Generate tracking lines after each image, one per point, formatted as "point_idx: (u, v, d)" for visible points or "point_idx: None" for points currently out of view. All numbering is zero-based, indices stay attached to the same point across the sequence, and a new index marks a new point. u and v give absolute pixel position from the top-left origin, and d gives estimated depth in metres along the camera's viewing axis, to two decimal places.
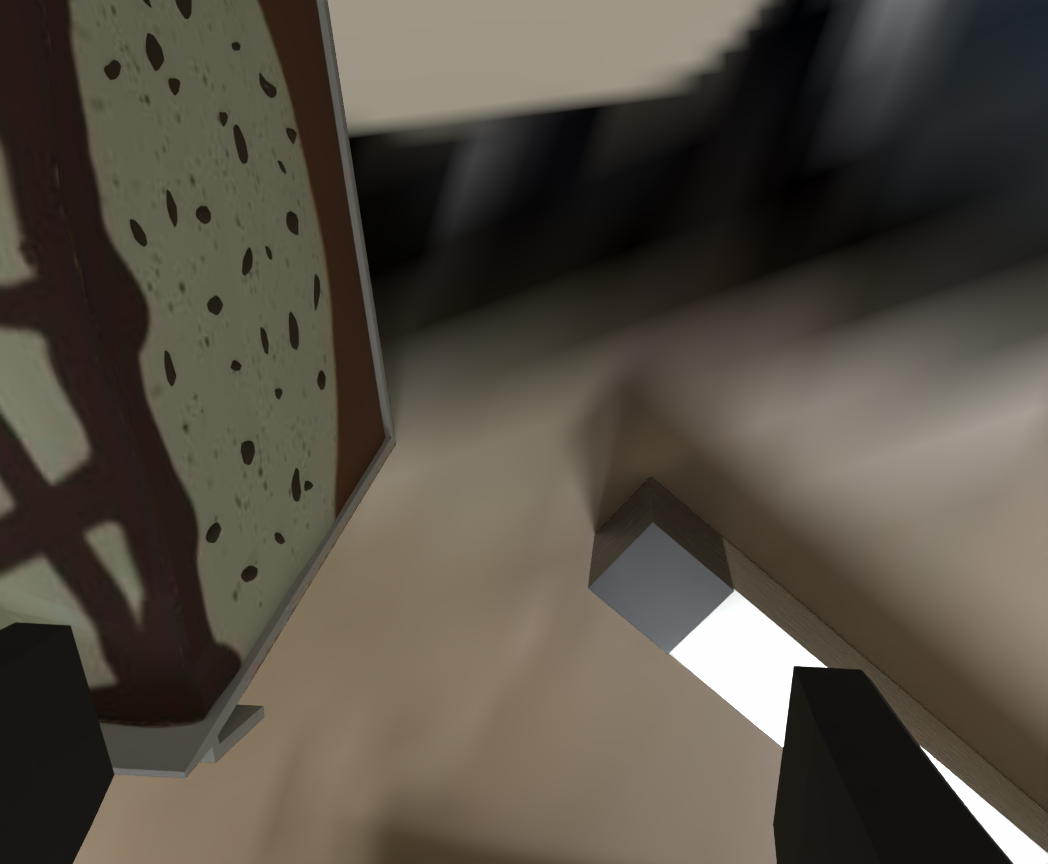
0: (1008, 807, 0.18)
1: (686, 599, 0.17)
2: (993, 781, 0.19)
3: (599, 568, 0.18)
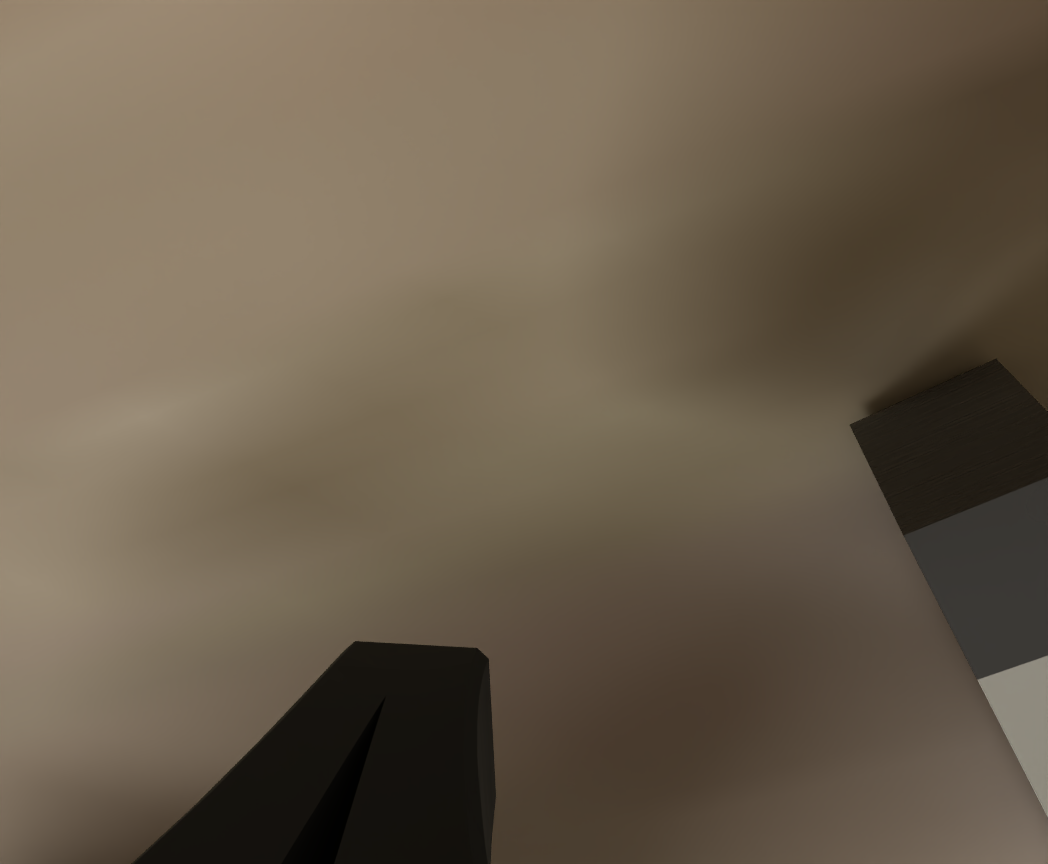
0: None
1: None
2: None
3: None
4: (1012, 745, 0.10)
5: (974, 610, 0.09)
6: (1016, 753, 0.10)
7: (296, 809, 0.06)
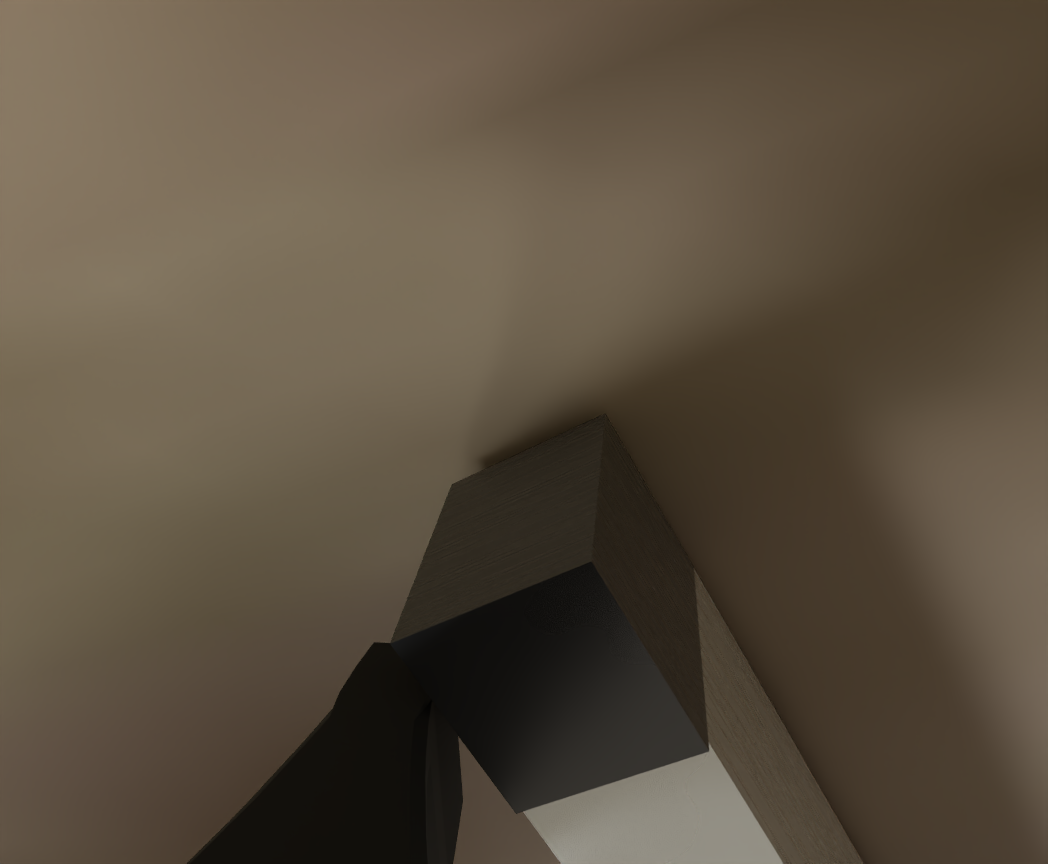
0: None
1: None
2: None
3: None
4: None
5: (493, 734, 0.08)
6: None
7: (345, 813, 0.06)
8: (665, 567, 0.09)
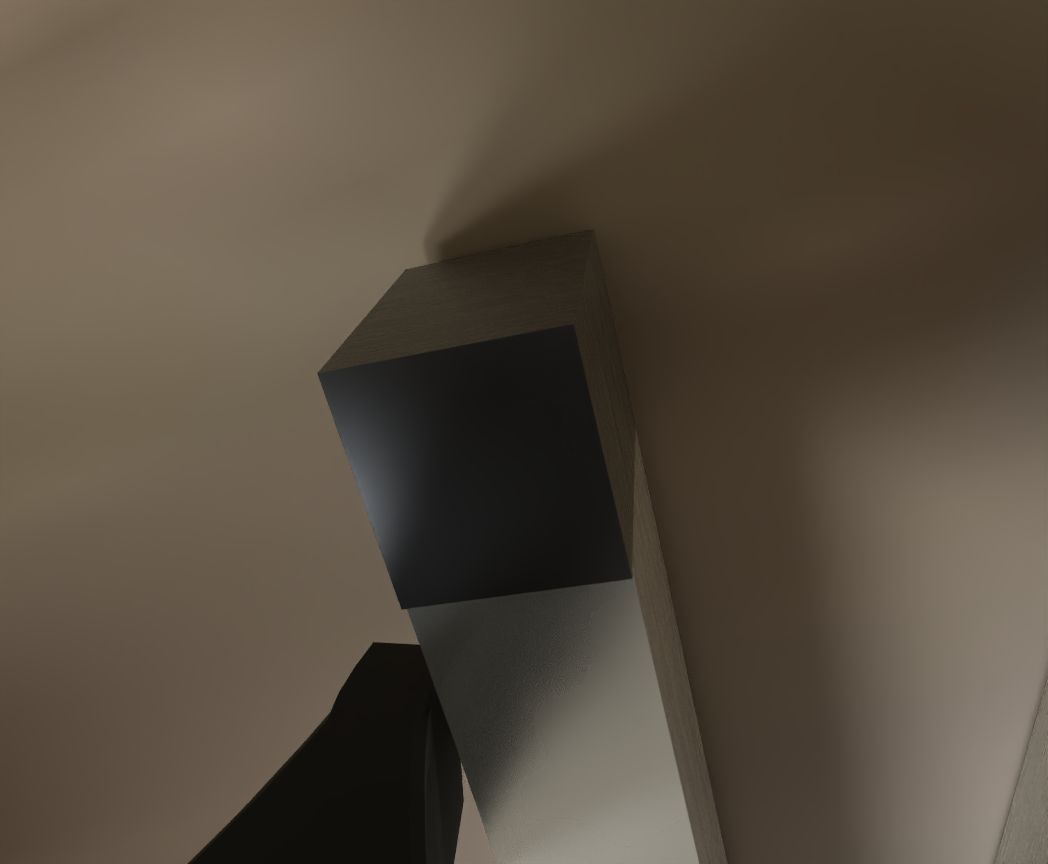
0: None
1: None
2: None
3: None
4: None
5: (403, 508, 0.07)
6: (450, 723, 0.08)
7: (346, 813, 0.06)
8: (618, 400, 0.08)
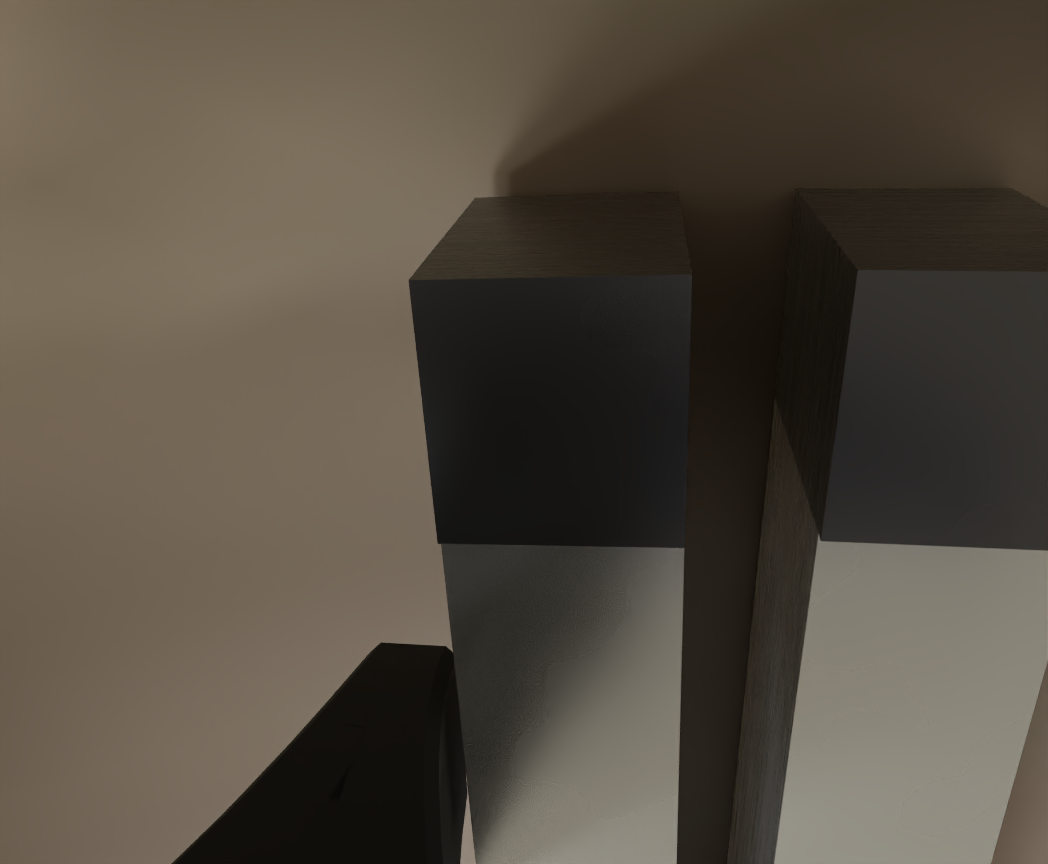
0: None
1: (992, 483, 0.06)
2: None
3: (893, 253, 0.06)
4: (454, 655, 0.07)
5: (464, 439, 0.06)
6: (457, 669, 0.07)
7: (331, 812, 0.06)
8: None
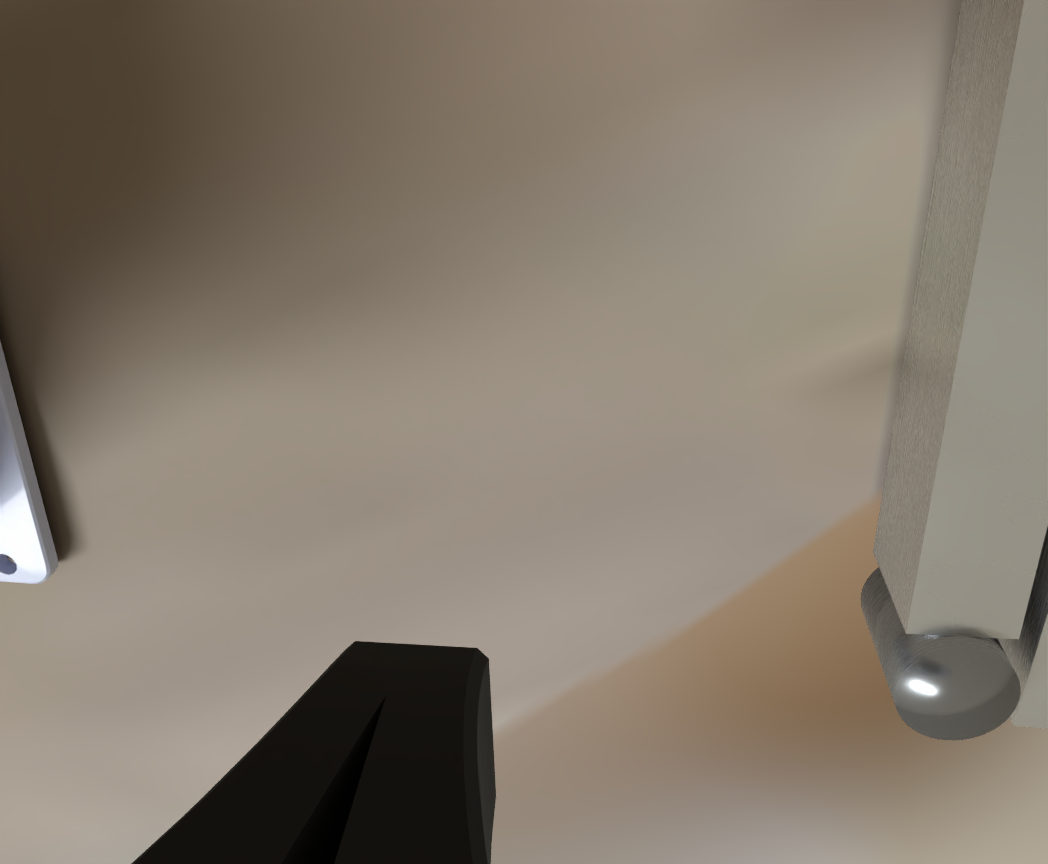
0: None
1: None
2: None
3: None
4: None
5: None
6: None
7: (296, 809, 0.06)
8: None
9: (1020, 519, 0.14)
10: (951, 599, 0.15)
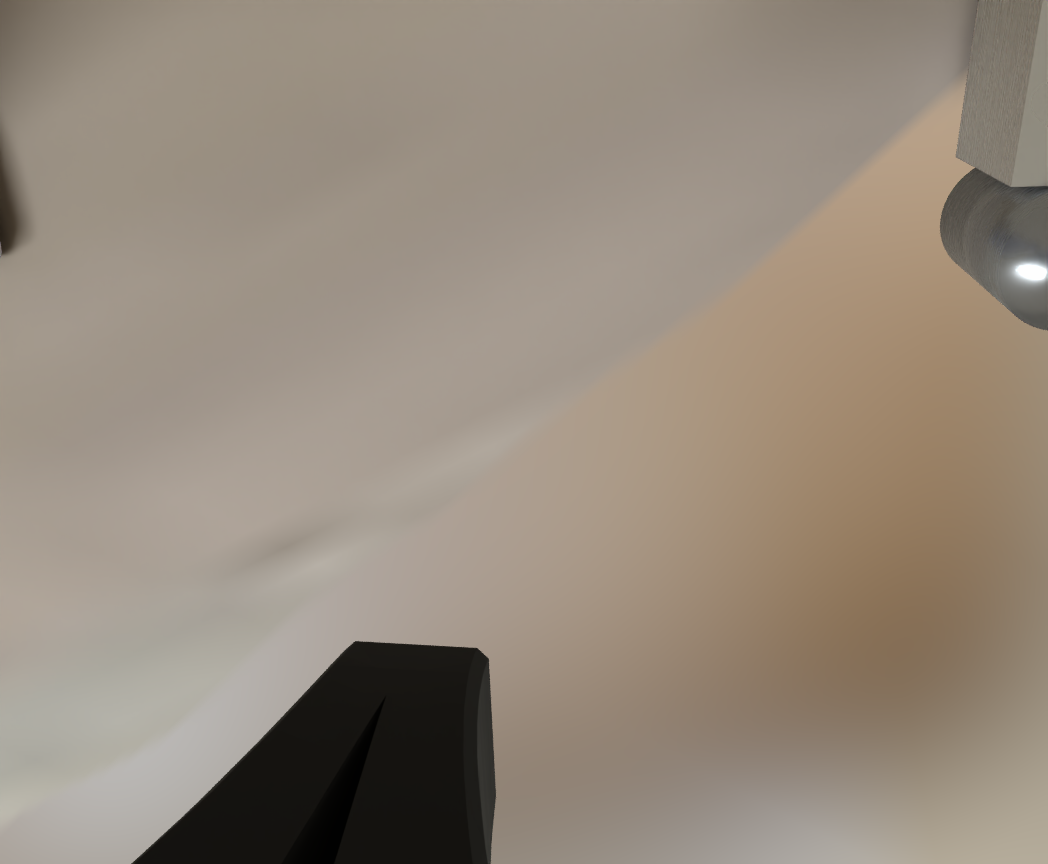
0: None
1: None
2: None
3: None
4: None
5: None
6: None
7: (296, 809, 0.06)
8: None
9: None
10: None
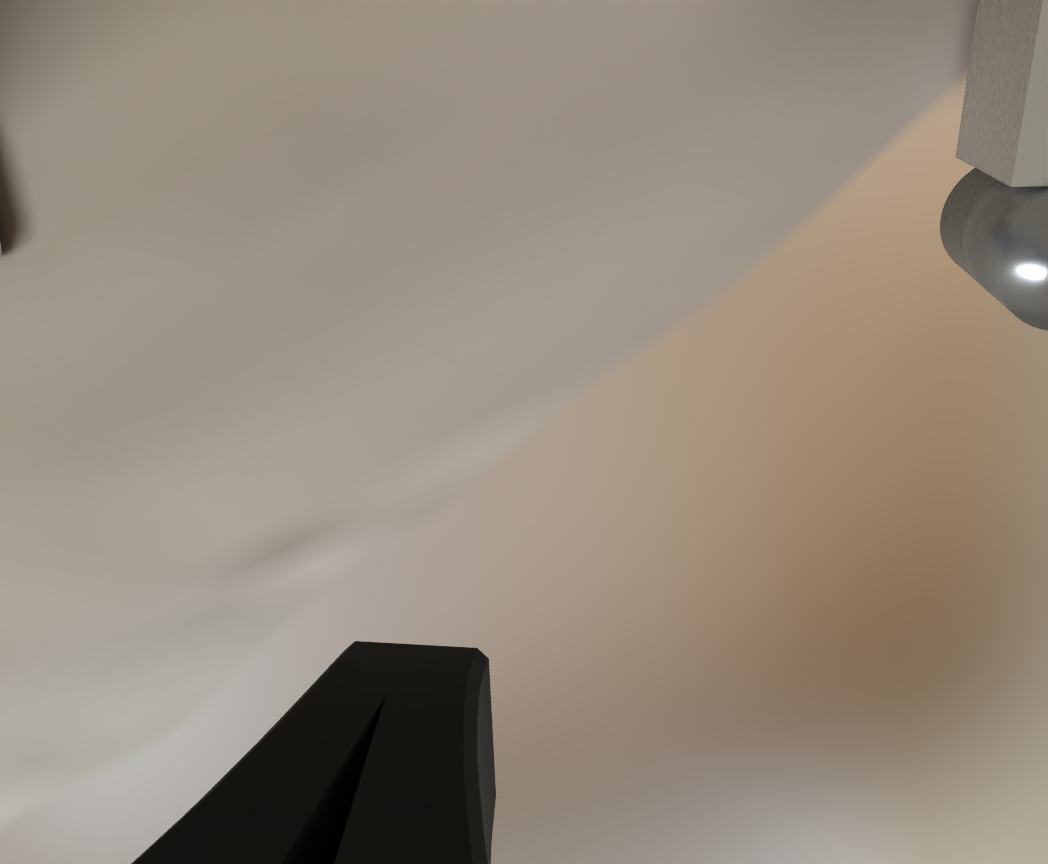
0: None
1: None
2: None
3: None
4: None
5: None
6: None
7: (296, 809, 0.06)
8: None
9: None
10: None
